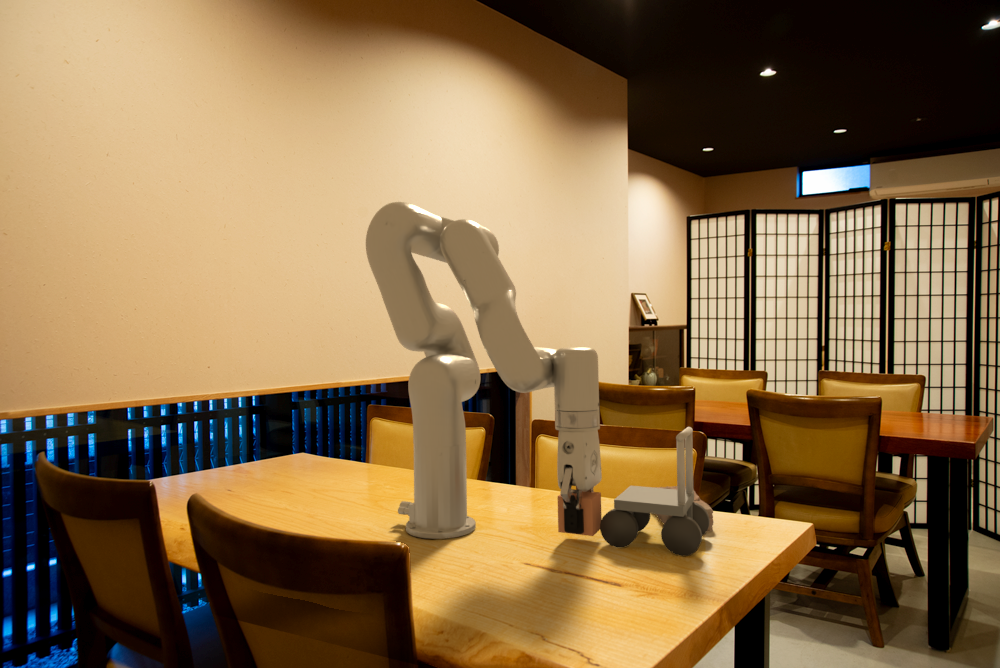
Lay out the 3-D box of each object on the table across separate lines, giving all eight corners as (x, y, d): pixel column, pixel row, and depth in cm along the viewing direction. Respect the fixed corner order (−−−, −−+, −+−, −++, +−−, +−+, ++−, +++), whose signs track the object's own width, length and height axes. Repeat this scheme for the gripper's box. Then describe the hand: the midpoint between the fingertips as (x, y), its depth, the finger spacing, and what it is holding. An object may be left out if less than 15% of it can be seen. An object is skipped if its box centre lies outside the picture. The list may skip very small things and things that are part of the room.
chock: (558, 532, 105) (557, 496, 106) (568, 524, 110) (567, 489, 110) (592, 536, 103) (592, 499, 103) (601, 527, 107) (600, 492, 107)
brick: (715, 533, 111) (715, 506, 111) (667, 533, 111) (667, 506, 111) (690, 509, 127) (690, 485, 127) (649, 509, 128) (648, 485, 128)
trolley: (599, 545, 104) (598, 430, 104) (617, 527, 114) (615, 422, 114) (700, 559, 97) (698, 436, 97) (710, 538, 107) (708, 427, 107)
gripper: (582, 427, 97) (585, 545, 97) (612, 415, 113) (614, 517, 112) (537, 425, 101) (540, 540, 100) (572, 414, 116) (575, 513, 116)
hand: (579, 526), depth 106 cm, fingers closed on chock, 5 cm apart
